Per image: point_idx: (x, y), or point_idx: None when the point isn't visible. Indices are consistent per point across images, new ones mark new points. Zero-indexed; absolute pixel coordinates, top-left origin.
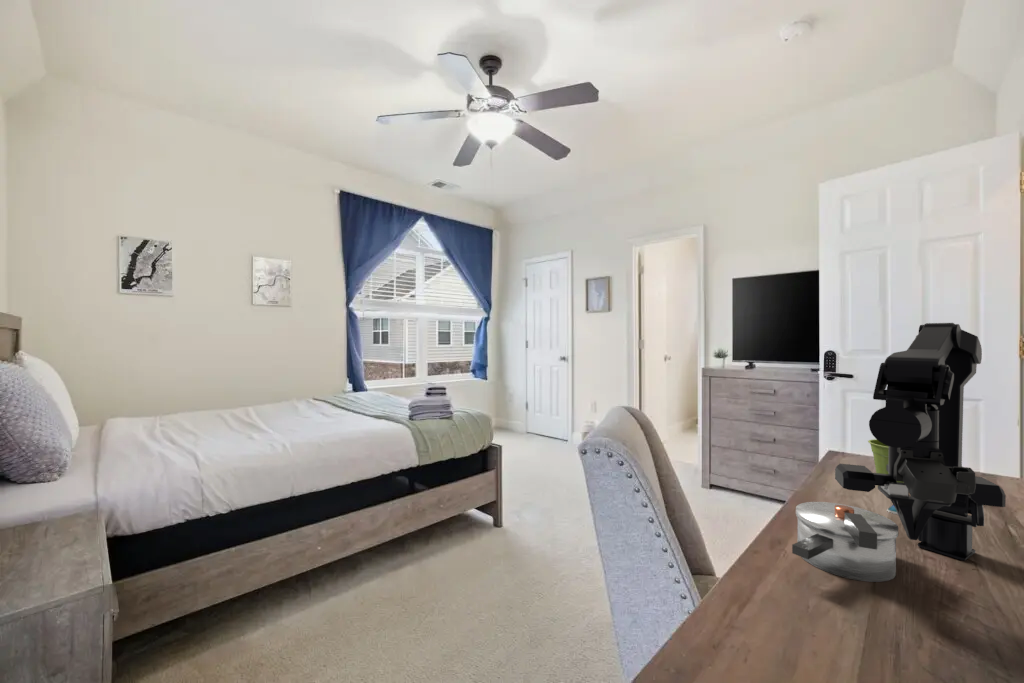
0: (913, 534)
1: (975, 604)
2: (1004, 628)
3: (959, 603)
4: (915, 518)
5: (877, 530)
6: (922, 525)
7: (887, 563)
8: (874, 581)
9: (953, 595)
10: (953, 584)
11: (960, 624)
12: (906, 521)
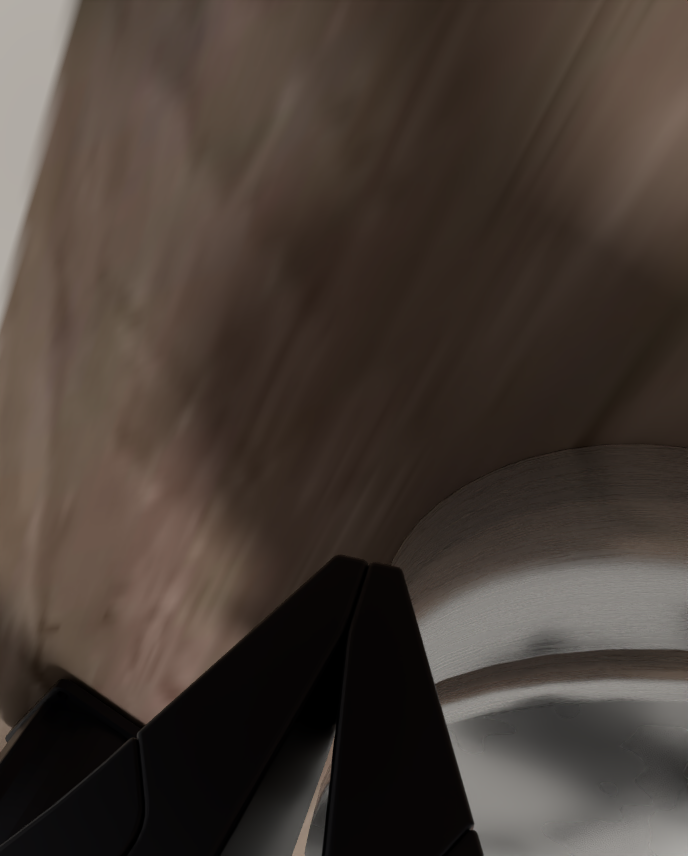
0: (363, 602)
1: (146, 326)
2: (98, 85)
3: (217, 314)
4: (259, 835)
5: (536, 773)
6: (222, 689)
7: (483, 541)
8: (578, 449)
9: (212, 393)
10: (171, 498)
11: (318, 32)
12: (442, 776)
